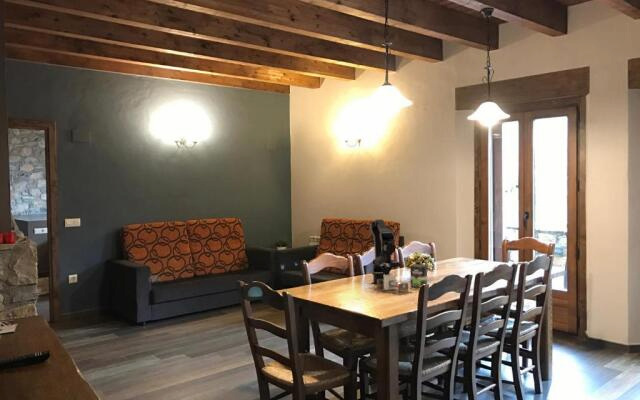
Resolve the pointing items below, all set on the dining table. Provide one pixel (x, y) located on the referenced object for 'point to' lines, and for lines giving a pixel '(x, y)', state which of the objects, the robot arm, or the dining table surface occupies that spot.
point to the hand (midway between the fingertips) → (386, 277)
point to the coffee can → (418, 276)
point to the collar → (386, 281)
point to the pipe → (393, 284)
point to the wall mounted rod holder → (401, 289)
